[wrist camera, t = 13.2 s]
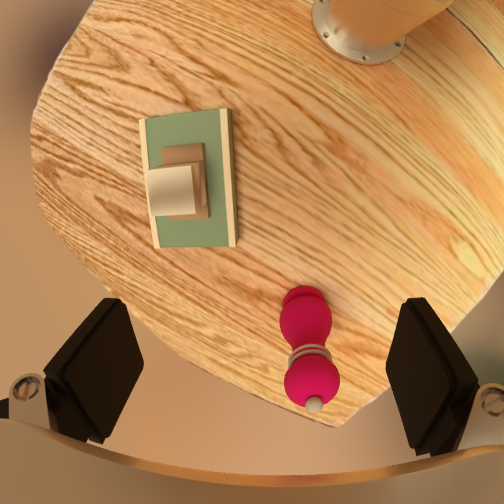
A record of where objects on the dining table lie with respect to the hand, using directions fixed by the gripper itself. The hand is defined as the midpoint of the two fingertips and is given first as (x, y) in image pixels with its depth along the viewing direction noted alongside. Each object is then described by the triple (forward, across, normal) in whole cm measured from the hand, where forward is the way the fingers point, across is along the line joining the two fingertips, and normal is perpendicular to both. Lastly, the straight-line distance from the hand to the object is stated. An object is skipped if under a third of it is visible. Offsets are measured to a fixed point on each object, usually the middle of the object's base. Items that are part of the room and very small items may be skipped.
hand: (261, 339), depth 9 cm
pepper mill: (+31, -4, +18) cm, 36 cm away
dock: (+30, +10, -1) cm, 32 cm away
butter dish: (+27, +10, -1) cm, 29 cm away
